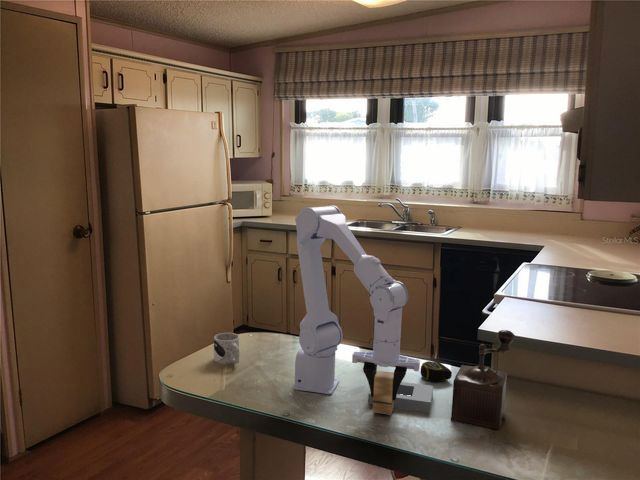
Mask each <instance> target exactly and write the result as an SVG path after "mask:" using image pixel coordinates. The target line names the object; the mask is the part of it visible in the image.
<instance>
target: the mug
mask: <svg viewBox="0 0 640 480" xmlns="http://www.w3.org/2000/svg"><path fill="white" fill-rule="evenodd" d="M213 361H214V363H215V364H216V365H220V366H228V365H234V364H235V365H238V364H239V363H240V336H239V334H237V333H233V332H222V333H221V332H220V333H218V334H214V336H213Z"/></svg>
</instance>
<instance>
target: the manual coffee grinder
mask: <svg viewBox="0 0 640 480" xmlns="http://www.w3.org/2000/svg"><path fill="white" fill-rule="evenodd" d="M496 338H497V340H498V341H499V342H498V343H499V344H498V346H497V348H486V345H485V344H483V343H481V344H480V345H479V346H478V347H479V350H478V354H479V363H478V365H475V366H472V365H464V364H461V366H460V368H459V369H458V371H457V373H456V375H455V376H454V379H453V381H452V382H453V384H452V385H453V386H452V387H453V388H452V400H451V401H452V402H451V413H450V421H453V422H457V423H460V424H465V425H469V426H473V427H478V428H481V429H485V430H486V429H487V430H492V431H498V432H499V431H500V430H501V427H502V425H503V423H504V422H505V421H506V417H507V415H506V414H505V404H506V403H505V401H506V400H505V399H506V389H507V378H508V377H507V375H508V373H507V372H505V371H500V370H499V369H492V368H490V367H489V366H485V365H484V364H485V355H486V354H489V353H493V354H494V353H501V352H502V353H503V354H504V353H505V352H509V351H511V350H512V349H511V344H512V343H513V342H514V341H515V338H516V336H515V333H513V332H512V331H511V330H508V329H501V330H499V331H498V332H497V334H496Z"/></svg>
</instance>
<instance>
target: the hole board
mask: <svg viewBox="0 0 640 480" xmlns="http://www.w3.org/2000/svg"><path fill="white" fill-rule="evenodd" d="M368 391H369V392H368V395H367V396H368V397H367V398H368V400H367V404H368V405H373V397H371V391H370V390H368ZM400 394H403V395H400ZM407 395H411V396H407ZM433 396H434V385H429V384H428V385H427V384H422V383H421V384H420V383H414V382H406V381H402V382H401V384H400V386H399V388H398V391H397V396H396V400H394V403H393V407H395V408H394V409H400V408H402V410H407V409H408V411H409V410H410V411H413V412H414V411H415V412H422V413H428V414H429V413H430V414H431V409H432V402H433Z"/></svg>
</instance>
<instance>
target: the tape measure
mask: <svg viewBox="0 0 640 480" xmlns="http://www.w3.org/2000/svg"><path fill="white" fill-rule="evenodd" d="M452 374H453V372H452V370H451V369H449V368H448V367H447V366H445V365H444V364H443V363H441V362H440V361H439V360H435V361H427V360H426V361H425V362H423V363H422V364H421V366H420V375H421V377H422V378H423V379H425V380H427V381H430V382H435V381H437V382H438V381H440V382H443V381H446V380H447V381H448V380H450V379H451V378H452Z"/></svg>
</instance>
